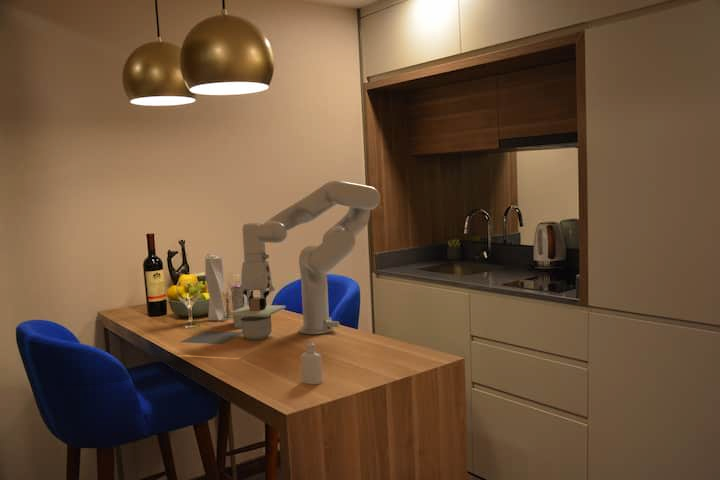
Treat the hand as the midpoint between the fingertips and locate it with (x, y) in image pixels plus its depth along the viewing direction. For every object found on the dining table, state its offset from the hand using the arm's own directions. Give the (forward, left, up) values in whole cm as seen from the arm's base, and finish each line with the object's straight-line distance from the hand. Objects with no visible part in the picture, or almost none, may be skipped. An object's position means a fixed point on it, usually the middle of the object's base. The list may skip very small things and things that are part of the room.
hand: (257, 308), depth 226 cm
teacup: (0, 0, -11) cm, 11 cm away
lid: (0, 0, -1) cm, 1 cm away
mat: (+16, +4, -11) cm, 20 cm away
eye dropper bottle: (-38, +44, -11) cm, 59 cm away
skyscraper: (+31, -25, -11) cm, 41 cm away
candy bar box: (+15, -16, -11) cm, 24 cm away
